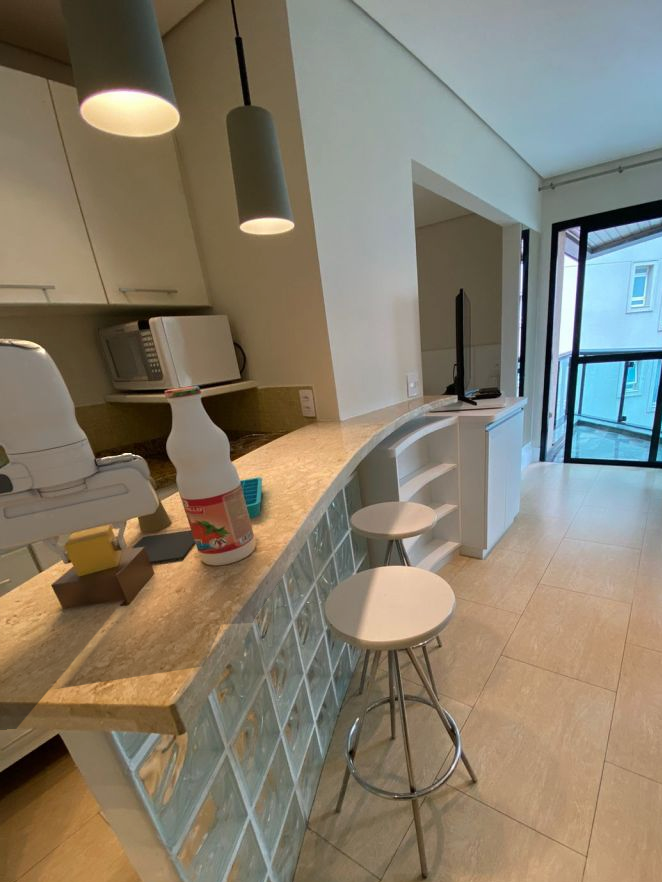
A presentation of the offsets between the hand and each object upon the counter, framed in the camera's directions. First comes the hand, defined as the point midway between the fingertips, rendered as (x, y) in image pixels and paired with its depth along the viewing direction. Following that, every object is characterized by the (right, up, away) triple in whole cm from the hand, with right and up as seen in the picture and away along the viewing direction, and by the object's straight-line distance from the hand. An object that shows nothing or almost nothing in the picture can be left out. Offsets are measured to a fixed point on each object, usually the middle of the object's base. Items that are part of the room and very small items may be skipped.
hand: (96, 554), depth 61 cm
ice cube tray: (+9, +8, +33) cm, 35 cm away
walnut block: (+1, -6, +3) cm, 7 cm away
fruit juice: (+16, -1, +11) cm, 19 cm away
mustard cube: (0, -1, +1) cm, 2 cm away
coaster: (+1, 0, +16) cm, 16 cm away
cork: (-6, +3, +26) cm, 27 cm away
